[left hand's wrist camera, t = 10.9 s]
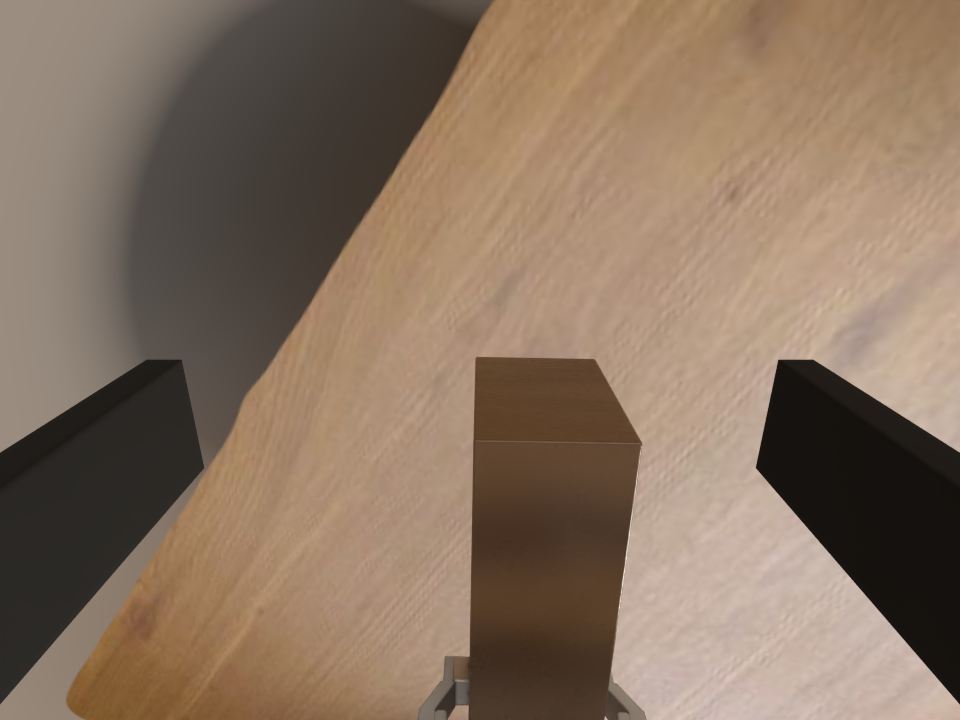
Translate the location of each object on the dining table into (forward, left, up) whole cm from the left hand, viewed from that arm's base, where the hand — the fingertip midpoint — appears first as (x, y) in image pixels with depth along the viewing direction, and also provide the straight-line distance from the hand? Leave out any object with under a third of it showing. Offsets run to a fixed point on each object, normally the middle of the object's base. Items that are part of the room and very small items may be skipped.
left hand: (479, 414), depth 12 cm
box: (+8, +12, -15) cm, 22 cm away
